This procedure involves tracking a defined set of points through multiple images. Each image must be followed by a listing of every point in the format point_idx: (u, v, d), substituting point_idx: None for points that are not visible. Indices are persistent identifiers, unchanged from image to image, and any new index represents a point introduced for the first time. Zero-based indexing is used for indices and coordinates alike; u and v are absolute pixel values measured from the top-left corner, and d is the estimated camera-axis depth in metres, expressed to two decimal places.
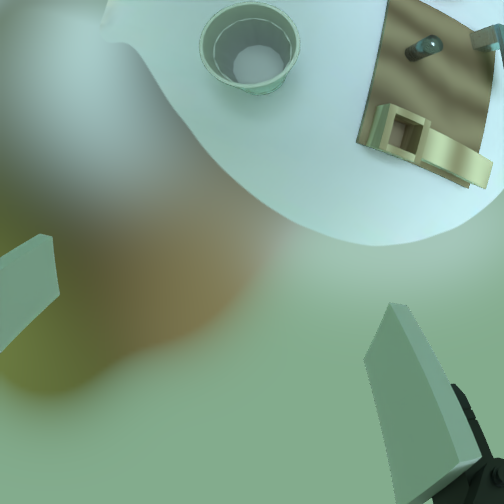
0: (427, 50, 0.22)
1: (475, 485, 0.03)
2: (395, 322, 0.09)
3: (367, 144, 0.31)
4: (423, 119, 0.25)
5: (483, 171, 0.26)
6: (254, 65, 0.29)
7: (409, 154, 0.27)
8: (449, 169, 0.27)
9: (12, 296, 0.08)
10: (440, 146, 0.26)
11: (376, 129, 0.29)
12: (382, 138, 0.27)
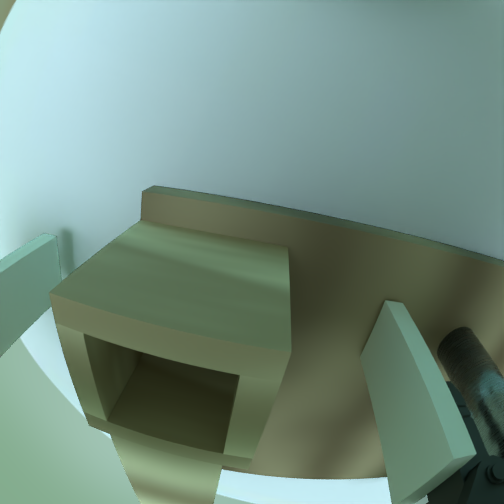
0: (496, 438, 0.06)
1: (469, 483, 0.03)
2: (391, 319, 0.09)
3: (137, 225, 0.09)
4: (246, 455, 0.07)
5: None
6: None
7: (97, 405, 0.07)
8: (131, 479, 0.09)
9: (17, 295, 0.08)
10: (176, 477, 0.08)
11: (173, 261, 0.08)
12: (91, 309, 0.05)
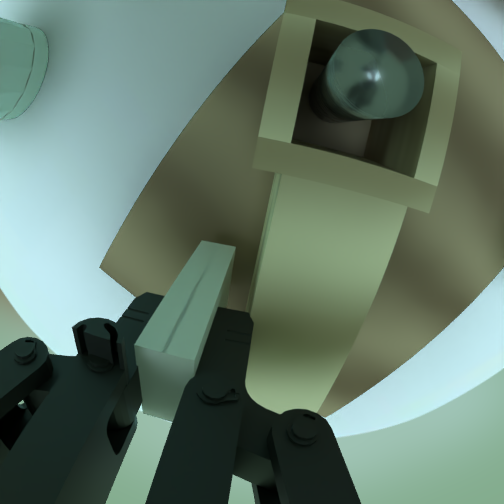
0: (335, 96, 0.06)
1: (179, 407, 0.05)
2: None
3: None
4: (433, 178, 0.07)
5: None
6: None
7: (289, 113, 0.07)
8: (257, 306, 0.09)
9: None
10: (341, 260, 0.08)
11: None
12: (332, 1, 0.05)
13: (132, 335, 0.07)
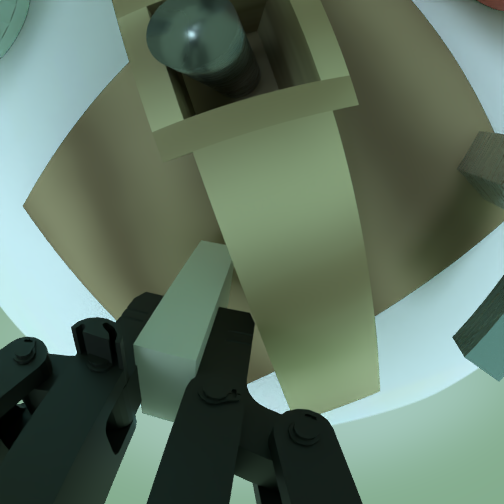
0: None
1: (180, 407, 0.05)
2: (212, 257, 0.11)
3: None
4: (340, 70, 0.06)
5: (337, 387, 0.10)
6: None
7: (168, 95, 0.06)
8: (249, 291, 0.08)
9: None
10: (299, 198, 0.07)
11: None
12: None
13: (131, 335, 0.07)
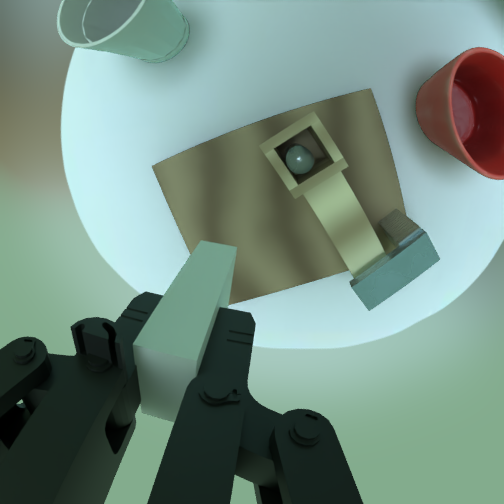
0: None
1: (181, 407, 0.05)
2: (213, 257, 0.11)
3: None
4: (340, 156, 0.22)
5: None
6: None
7: (291, 178, 0.23)
8: (329, 232, 0.24)
9: None
10: (337, 200, 0.23)
11: None
12: (271, 139, 0.22)
13: (131, 335, 0.07)
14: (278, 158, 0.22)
